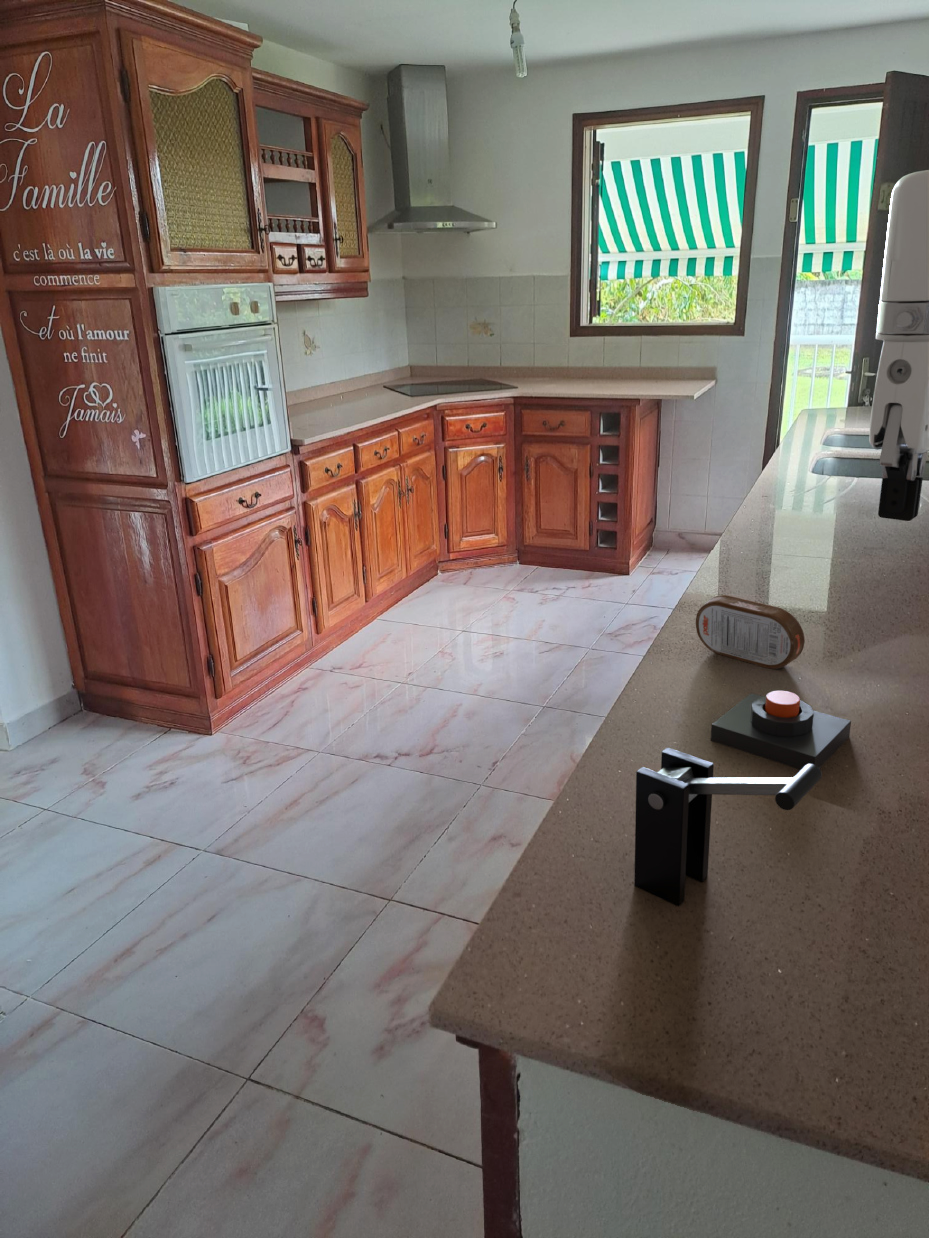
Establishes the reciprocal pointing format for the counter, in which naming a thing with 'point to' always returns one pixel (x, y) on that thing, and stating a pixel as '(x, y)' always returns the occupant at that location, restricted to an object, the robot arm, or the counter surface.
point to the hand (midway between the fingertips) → (897, 517)
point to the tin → (750, 631)
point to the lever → (751, 785)
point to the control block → (781, 733)
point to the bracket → (671, 828)
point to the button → (782, 704)
